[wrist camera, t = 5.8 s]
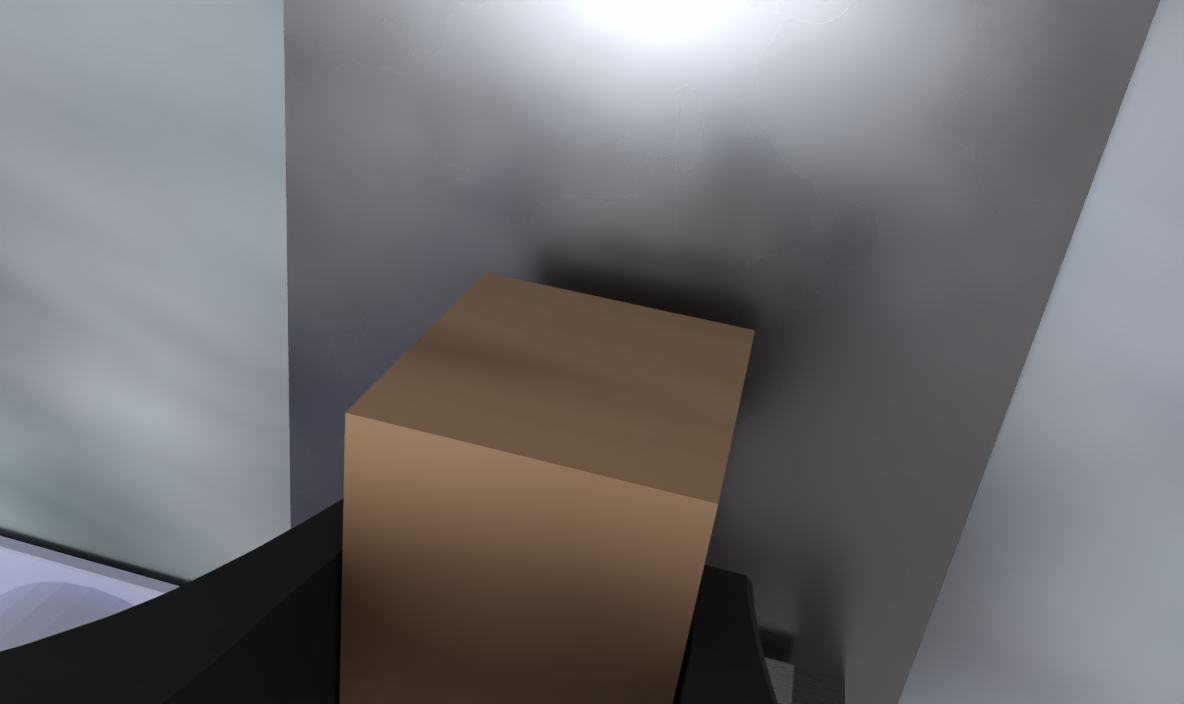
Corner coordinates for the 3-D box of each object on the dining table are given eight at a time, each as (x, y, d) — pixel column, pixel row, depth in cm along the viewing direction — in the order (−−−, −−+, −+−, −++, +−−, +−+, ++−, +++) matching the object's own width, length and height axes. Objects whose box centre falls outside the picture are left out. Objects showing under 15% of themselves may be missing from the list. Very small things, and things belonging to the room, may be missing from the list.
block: (681, 651, 16) (629, 893, 12) (457, 590, 17) (337, 801, 13) (754, 330, 14) (718, 504, 10) (485, 271, 14) (345, 412, 10)
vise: (873, 732, 19) (882, 972, 15) (310, 578, 21) (173, 751, 16) (1212, -199, 12) (1421, -258, 7) (308, -308, 14) (66, -406, 9)
